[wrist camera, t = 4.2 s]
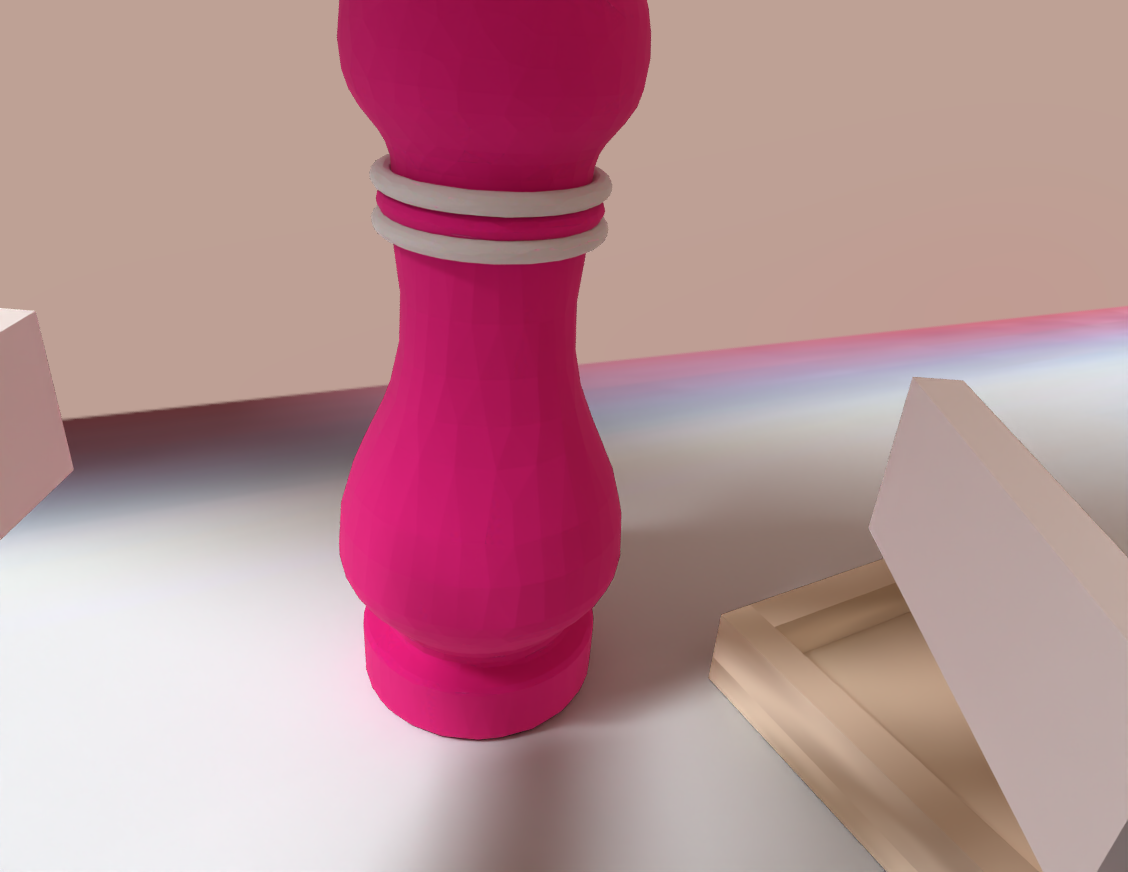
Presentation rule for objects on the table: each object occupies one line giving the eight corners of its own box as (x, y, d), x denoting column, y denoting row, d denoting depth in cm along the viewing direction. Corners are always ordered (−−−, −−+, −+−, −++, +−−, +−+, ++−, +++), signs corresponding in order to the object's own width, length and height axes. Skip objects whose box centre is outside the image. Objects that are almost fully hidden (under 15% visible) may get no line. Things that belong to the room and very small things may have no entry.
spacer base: (708, 677, 24) (721, 614, 23) (1002, 564, 30) (1023, 510, 29) (1184, 1196, 14) (1248, 1128, 13) (1482, 874, 20) (1543, 809, 19)
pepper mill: (585, 573, 28) (661, -172, 18) (628, 751, 21) (777, -245, 12) (359, 578, 27) (314, -209, 17) (334, 766, 20) (239, -310, 11)
